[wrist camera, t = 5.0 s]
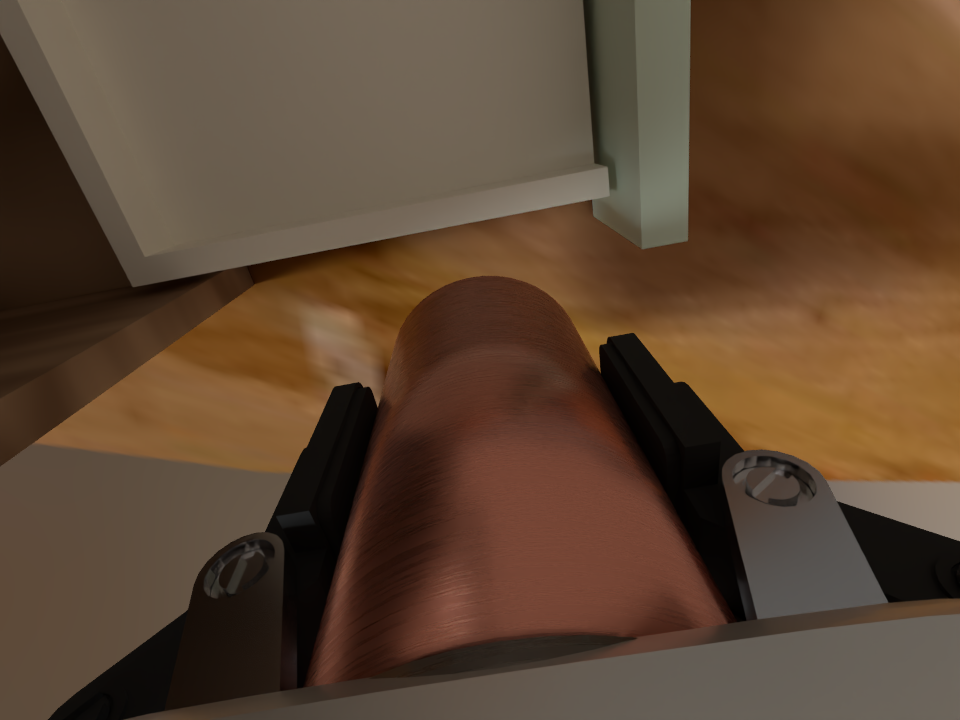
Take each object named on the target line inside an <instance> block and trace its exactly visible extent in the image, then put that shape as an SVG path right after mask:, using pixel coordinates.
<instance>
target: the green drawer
mask: <svg viewBox="0 0 960 720" xmlns="http://www.w3.org/2000/svg"><path fill="white" fill-rule="evenodd" d="M690 19H691V0H0V34H1V36H2V38H3V40H4V42H5V44H6V46H7V48H8V50H9V51H10V53H11V55H12V57H13V59H14V61H15V63H16V65H17V67H18V69H19V71H20V73H21V74H22V76H23V78H24V80H25V82H26V84H27V86H28V88H29V90H30V92H31V94H32V95H33V97H34V99H35V101H36V103H37V105H38V107H39V109H40V111H41V113H42V115H43V116H44V118H45V120H46V122H47V124H48V126H49V128H50V130H51V132H52V134H53V136H54V138H55V139H56V141H57V143H58V145H59V147H60V149H61V151H62V153H63V155H64V157H65V159H66V160H67V162H68V164H69V166H70V168H71V170H72V172H73V174H74V176H75V178H76V180H77V181H78V183H79V185H80V187H81V189H82V191H83V193H84V195H85V197H86V199H87V201H88V202H89V204H90V206H91V208H92V210H93V212H94V214H95V216H96V218H97V220H98V222H99V224H100V225H101V227H102V229H103V231H104V233H105V235H106V237H107V239H108V241H109V243H110V245H111V246H112V248H113V250H114V252H115V254H116V256H117V258H118V260H119V262H120V264H121V266H122V267H123V269H124V271H125V273H126V275H127V277H128V279H129V281H130V283H131V285H132V287H137V286H142V285H148V284H153V283H158V282H163V281H169V280H174V279H179V278H184V277H190V276H195V275H200V274H205V273H211V272H216V271H221V270H226V269H231V268H237V267H242V266H247V265H252V264H258V263H263V262H268V261H273V260H279V259H284V258H289V257H294V256H299V255H305V254H310V253H315V252H320V251H326V250H331V249H336V248H341V247H347V246H352V245H357V244H362V243H367V242H373V241H378V240H383V239H388V238H394V237H399V236H404V235H409V234H415V233H420V232H425V231H430V230H435V229H441V228H446V227H451V226H456V225H462V224H467V223H472V222H477V221H483V220H488V219H493V218H498V217H504V216H509V215H514V214H519V213H524V212H530V211H535V210H540V209H545V208H551V207H556V206H561V205H566V204H572V203H577V202H582V201H587V200H592V205H593V216H594V217H595V218H596V219H598V220H599V221H601V222H602V223H604V224H605V225H607V226H608V227H610V228H611V229H613V230H614V231H616V232H617V233H619V234H620V235H622V236H623V237H625V238H626V239H628V240H629V241H631V242H632V243H633V244H635V245H636V246H638V247H639V248H641V249H647V248H652V247H658V246H663V245H668V244H674V243H679V242H685V241H688V191H689V105H690Z"/></svg>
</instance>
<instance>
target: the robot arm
mask: <svg viewBox="0 0 960 720" xmlns="http://www.w3.org/2000/svg"><path fill="white" fill-rule="evenodd" d="M599 354H600V369H601V375H602V377H603V379H604V381H605V383H606V384H607V386H608V388H609V390H610V392H611V394H612V395H613V397H614V399H615V401H616V403H617V404H618V406H619V408H620V410H621V412H622V414H623V415H624V417H625V419H626V421H627V423H628V424H629V426H630V428H631V430H632V432H633V434H634V435H635V437H636V439H637V441H638V443H639V444H640V446H641V448H642V450H643V452H644V454H645V455H646V457H647V459H648V461H649V463H650V464H651V466H652V468H653V470H654V472H655V473H656V475H657V477H658V479H659V481H660V483H661V484H662V486H663V488H664V490H665V492H666V493H667V495H668V497H669V499H670V501H671V503H672V504H673V506H674V508H675V510H676V512H677V513H678V515H679V517H680V519H681V521H682V523H683V524H684V526H685V528H686V530H687V532H688V533H689V535H690V537H691V539H692V541H693V543H694V544H695V546H696V548H697V550H698V552H699V553H700V555H701V557H702V559H703V561H704V563H705V564H706V566H707V568H708V570H709V572H710V573H711V575H712V577H713V579H714V581H715V583H716V584H717V586H718V588H719V590H720V592H721V593H722V595H723V597H724V599H725V601H726V603H727V604H728V606H729V608H730V610H731V612H732V613H733V615H734V617H735V619H736V621H737V623H730V624H723V625H716V626H709V627H702V628H695V629H689V630H682V631H675V632H668V633H661V634H654V635H647V636H640V637H635V638H637V639H633V640H629V641H625V642H621V643H617V644H613V645H609V646H606V647H602V648H598V649H594V650H590V651H585V652H580V653H576V654H571V655H566V656H562V657H557V658H552V659H548V660H542V661H536V662H531V663H525V664H519V665H513V666H507V667H502V668H495V669H487V670H479V671H471V672H464V673H456V674H446V675H433V676H420V677H406V678H379V679H369V678H371V677H369V678H362V679H356V680H350V681H343V682H337V683H331V684H324V685H318V686H311V687H305V688H303V686H304V683H305V679H306V675H307V671H308V668H309V664H310V660H311V656H312V653H313V649H314V645H315V641H316V638H317V634H318V630H319V627H320V623H321V619H322V615H323V612H324V608H325V604H326V600H327V597H328V593H329V589H330V585H331V582H332V578H333V574H334V570H335V567H336V563H337V559H338V555H339V552H340V548H341V544H342V541H343V537H344V533H345V529H346V526H347V522H348V518H349V514H350V511H351V507H352V503H353V499H354V496H355V492H356V488H357V484H358V481H359V477H360V473H361V469H362V466H363V462H364V458H365V455H366V451H367V447H368V443H369V440H370V436H371V432H372V428H373V425H374V421H375V417H376V413H377V410H378V407H377V404H376V401H375V399H374V396H373V393H372V390H371V389H370V387H364V388H363V386H362V385H361V383H359V382H358V383H352V384H347V385H341V386H336V387H334V388H333V390H332V393H331V395H330V397H329V399H328V401H327V404H326V406H325V408H324V410H323V413H322V415H321V417H320V419H319V422H318V424H317V426H316V428H315V430H314V433H313V435H312V437H311V439H310V442H309V444H308V446H307V448H305V449H304V450H303V451H302V453H301V455H300V457H299V459H298V461H297V463H296V465H295V468H294V470H293V472H292V474H291V477H290V479H289V481H288V483H287V485H286V487H285V490H284V492H283V494H282V496H281V498H280V500H279V503H278V505H277V507H276V509H275V511H274V513H273V516H272V518H271V520H270V522H269V524H268V527H267V529H266V531H265V532H262V533H254V534H250V535H247V536H243V537H241V538H239V539H237V540H235V541H233V542H231V543H230V544H228V545H227V546H225V547H224V548H222V549H221V550H219V551H218V552H217V553H216V554H215V555H214V556H213V557H212V558H211V559H209V561H207V563H206V564H205V566H204V567H203V568H202V570H201V571H200V572H199V574H198V576H197V579H196V581H195V584H194V587H193V591H192V595H191V600H190V604H189V608H188V610H187V611H186V612H185V613H183V614H182V615H181V616H179V617H178V618H177V619H175V620H174V621H173V622H171V623H170V624H169V625H167V626H166V627H165V628H163V629H162V630H160V631H159V632H158V633H156V634H155V635H154V636H152V637H151V638H150V639H148V640H147V641H146V642H144V643H143V644H142V645H140V646H139V647H138V648H136V649H135V650H134V651H132V652H131V653H130V654H128V655H127V656H126V657H124V658H123V659H121V660H120V661H119V662H117V663H116V664H115V665H113V666H112V667H111V668H109V669H108V670H107V671H105V672H104V673H103V674H101V675H100V676H99V677H97V678H96V679H95V680H93V681H92V682H91V683H89V684H88V685H87V686H86V687H84V688H82V689H81V690H80V691H79V692H77V693H76V694H75V695H73V696H72V697H71V698H70V699H69V700H68V701H66V702H65V703H64V704H63V705H62V706H60V707H59V708H58V709H57V710H56V711H55V712H54V714H53V715H52V716H51V717H50V718H49V719H48V720H960V541H957V540H954V539H951V538H948V537H945V536H942V535H939V534H936V533H933V532H929V531H926V530H923V529H920V528H917V527H914V526H911V525H908V524H905V523H902V522H899V521H896V520H893V519H890V518H887V517H884V516H880V515H877V514H874V513H871V512H868V511H865V510H862V509H859V508H856V507H853V506H850V505H847V504H844V503H841V502H838V501H836V499H835V497H834V495H833V493H832V491H831V489H830V487H829V485H828V483H827V481H826V480H825V479H824V477H823V476H822V475H821V473H820V472H819V471H818V470H816V469H815V468H814V467H812V466H811V465H810V464H808V463H807V462H805V461H803V460H801V459H799V458H796V457H794V456H792V455H788V454H785V453H781V452H778V451H769V450H750V451H744V450H743V449H742V448H741V447H740V445H739V444H738V443H737V442H736V441H735V440H734V438H733V437H732V436H731V435H730V434H729V433H728V431H727V430H726V429H725V428H724V427H723V425H722V424H721V423H720V422H719V421H718V420H717V418H716V417H715V416H714V415H713V414H712V412H711V411H710V410H709V409H708V408H707V407H706V405H705V404H704V403H703V402H702V401H701V399H700V398H699V397H698V396H697V395H696V394H695V392H694V391H693V390H692V389H691V388H690V387H689V385H687V384H686V383H685V382H676V383H674V382H673V381H672V380H671V379H670V377H669V376H668V375H667V374H666V372H665V371H664V370H663V369H662V367H661V366H660V365H659V364H658V362H657V361H656V360H655V359H654V357H653V356H652V355H651V354H650V352H649V351H648V350H647V349H646V347H645V346H644V345H643V344H642V342H641V341H640V340H639V339H638V337H637V336H636V335H635V334H634V333H630V334H624V335H618V336H613V337H608V339H607V344H604V345H600V347H599Z"/></svg>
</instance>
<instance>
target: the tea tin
mask: <svg viewBox="0 0 960 720" xmlns="http://www.w3.org/2000/svg"><path fill="white" fill-rule="evenodd" d="M730 623H737V621H736V619H735V617H734V615H733V613H732V612H731V610H730V608H729V606H728V604H727V603H726V601H725V599H724V597H723V595H722V593H721V592H720V590H719V588H718V586H717V584H716V583H715V581H714V579H713V577H712V575H711V573H710V572H709V570H708V568H707V566H706V564H705V563H704V561H703V559H702V557H701V555H700V553H699V552H698V550H697V548H696V546H695V544H694V543H693V541H692V539H691V537H690V535H689V533H688V532H687V530H686V528H685V526H684V524H683V523H682V521H681V519H680V517H679V515H678V513H677V512H676V510H675V508H674V506H673V504H672V503H671V501H670V499H669V497H668V495H667V493H666V492H665V490H664V488H663V486H662V484H661V483H660V481H659V479H658V477H657V475H656V473H655V472H654V470H653V468H652V466H651V464H650V463H649V461H648V459H647V457H646V455H645V454H644V452H643V450H642V448H641V446H640V444H639V443H638V441H637V439H636V437H635V435H634V434H633V432H632V430H631V428H630V426H629V424H628V423H627V421H626V419H625V417H624V415H623V414H622V412H621V410H620V408H619V406H618V404H617V403H616V401H615V399H614V397H613V395H612V394H611V392H610V390H609V388H608V386H607V384H606V383H605V381H604V379H603V377H602V375H601V374H600V372H599V370H598V368H597V366H596V364H595V363H594V361H593V359H592V357H591V355H590V354H589V352H588V350H587V348H586V346H585V344H584V343H583V341H582V339H581V337H580V335H579V334H578V332H577V330H576V328H575V326H574V324H573V323H572V321H571V319H570V317H569V316H568V315H567V313H566V312H565V310H564V309H563V308H562V307H561V306H560V305H559V304H558V303H557V302H556V300H554V299H553V298H552V297H551V296H549V295H548V294H547V293H545V292H544V291H542V290H540V289H539V288H537V287H535V286H533V285H531V284H528V283H526V282H523V281H520V280H516V279H512V278H507V277H500V276H480V277H472V278H467V279H463V280H459V281H456V282H453V283H451V284H448V285H446V286H444V287H442V288H440V289H438V290H436V291H435V292H433V293H431V294H430V295H429V296H427V297H426V298H425V299H423V300H422V301H421V302H420V303H419V304H418V305H417V306H416V307H415V308H414V309H413V310H412V312H411V313H410V314H409V316H408V317H407V318H406V320H405V322H404V323H403V325H402V327H401V329H400V331H399V334H398V336H397V339H396V342H395V346H394V350H393V354H392V357H391V361H390V365H389V369H388V372H387V376H386V380H385V383H384V387H383V391H382V395H381V398H380V402H379V406H378V410H377V413H376V417H375V421H374V425H373V428H372V432H371V436H370V440H369V443H368V447H367V451H366V455H365V458H364V462H363V466H362V469H361V473H360V477H359V481H358V484H357V488H356V492H355V496H354V499H353V503H352V507H351V511H350V514H349V518H348V522H347V526H346V529H345V533H344V537H343V541H342V544H341V548H340V552H339V555H338V559H337V563H336V567H335V570H334V574H333V578H332V582H331V585H330V589H329V593H328V597H327V600H326V604H325V608H324V612H323V615H322V619H321V623H320V627H319V630H318V634H317V638H316V641H315V645H314V649H313V653H312V656H311V660H310V664H309V668H308V671H307V675H306V679H305V683H304V686H303V688H305V687H311V686H318V685H324V684H331V683H337V682H343V681H350V680H356V679H362V678H369V677H371V678H369V679H379V678H406V677H420V676H433V675H446V674H456V673H464V672H471V671H479V670H487V669H495V668H502V667H507V666H513V665H519V664H525V663H531V662H536V661H542V660H548V659H552V658H557V657H562V656H566V655H571V654H576V653H580V652H585V651H590V650H594V649H598V648H602V647H606V646H609V645H613V644H617V643H621V642H625V641H629V640H633V639H637V638H635V637H640V636H647V635H654V634H661V633H668V632H675V631H682V630H689V629H695V628H702V627H709V626H716V625H723V624H730Z"/></svg>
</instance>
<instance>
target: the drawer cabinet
mask: <svg viewBox="0 0 960 720" xmlns="http://www.w3.org/2000/svg"><path fill="white" fill-rule="evenodd" d="M253 285H254V283H253V280H252V278H251V275H250V273H249V270H248V268H247V266H242V267H237V268H231V269H226V270H221V271H216V272H211V273H205V274H200V275H195V276H190V277H184V278H179V279H174V280H169V281H163V282H158V283H153V284H148V285H142V286H137V287H132V285H131V283H130V281H129V279H128V277H127V275H126V273H125V271H124V269H123V267H122V266H121V264H120V262H119V260H118V258H117V256H116V254H115V252H114V250H113V248H112V246H111V245H110V243H109V241H108V239H107V237H106V235H105V233H104V231H103V229H102V227H101V225H100V224H99V222H98V220H97V218H96V216H95V214H94V212H93V210H92V208H91V206H90V204H89V202H88V201H87V199H86V197H85V195H84V193H83V191H82V189H81V187H80V185H79V183H78V181H77V180H76V178H75V176H74V174H73V172H72V170H71V168H70V166H69V164H68V162H67V160H66V159H65V157H64V155H63V153H62V151H61V149H60V147H59V145H58V143H57V141H56V139H55V138H54V136H53V134H52V132H51V130H50V128H49V126H48V124H47V122H46V120H45V118H44V116H43V115H42V113H41V111H40V109H39V107H38V105H37V103H36V101H35V99H34V97H33V95H32V94H31V92H30V90H29V88H28V86H27V84H26V82H25V80H24V78H23V76H22V74H21V73H20V71H19V69H18V67H17V65H16V63H15V61H14V59H13V57H12V55H11V53H10V51H9V50H8V48H7V46H6V44H5V42H4V40H3V38H2V36H1V34H0V466H1V465H3V464H4V463H5V462H7V461H8V460H10V459H11V458H13V457H14V456H15V455H17V454H18V453H20V452H21V451H22V450H24V449H25V448H27V447H28V446H29V445H31V444H32V443H34V442H35V441H36V440H38V439H39V438H41V437H42V436H43V435H45V434H46V433H48V432H49V431H50V430H52V429H53V428H55V427H56V426H57V425H59V424H60V423H62V422H63V421H64V420H66V419H67V418H69V417H70V416H71V415H73V414H74V413H76V412H77V411H78V410H80V409H81V408H83V407H84V406H85V405H87V404H88V403H90V402H91V401H92V400H94V399H95V398H97V397H98V396H99V395H101V394H102V393H104V392H105V391H106V390H108V389H109V388H110V387H112V386H113V385H115V384H116V383H117V382H119V381H120V380H122V379H123V378H124V377H126V376H127V375H129V374H130V373H131V372H133V371H134V370H136V369H137V368H138V367H140V366H141V365H143V364H144V363H145V362H147V361H148V360H150V359H151V358H152V357H154V356H155V355H157V354H158V353H159V352H161V351H162V350H164V349H165V348H166V347H168V346H169V345H171V344H172V343H173V342H175V341H176V340H178V339H179V338H180V337H182V336H183V335H185V334H186V333H187V332H189V331H190V330H192V329H193V328H194V327H196V326H197V325H199V324H200V323H201V322H203V321H204V320H206V319H207V318H208V317H210V316H211V315H213V314H214V313H215V312H217V311H218V310H220V309H221V308H222V307H224V306H225V305H227V304H228V303H229V302H231V301H232V300H234V299H235V298H236V297H238V296H239V295H241V294H242V293H243V292H245V291H246V290H248V289H249V288H250V287H252V286H253Z"/></svg>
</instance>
